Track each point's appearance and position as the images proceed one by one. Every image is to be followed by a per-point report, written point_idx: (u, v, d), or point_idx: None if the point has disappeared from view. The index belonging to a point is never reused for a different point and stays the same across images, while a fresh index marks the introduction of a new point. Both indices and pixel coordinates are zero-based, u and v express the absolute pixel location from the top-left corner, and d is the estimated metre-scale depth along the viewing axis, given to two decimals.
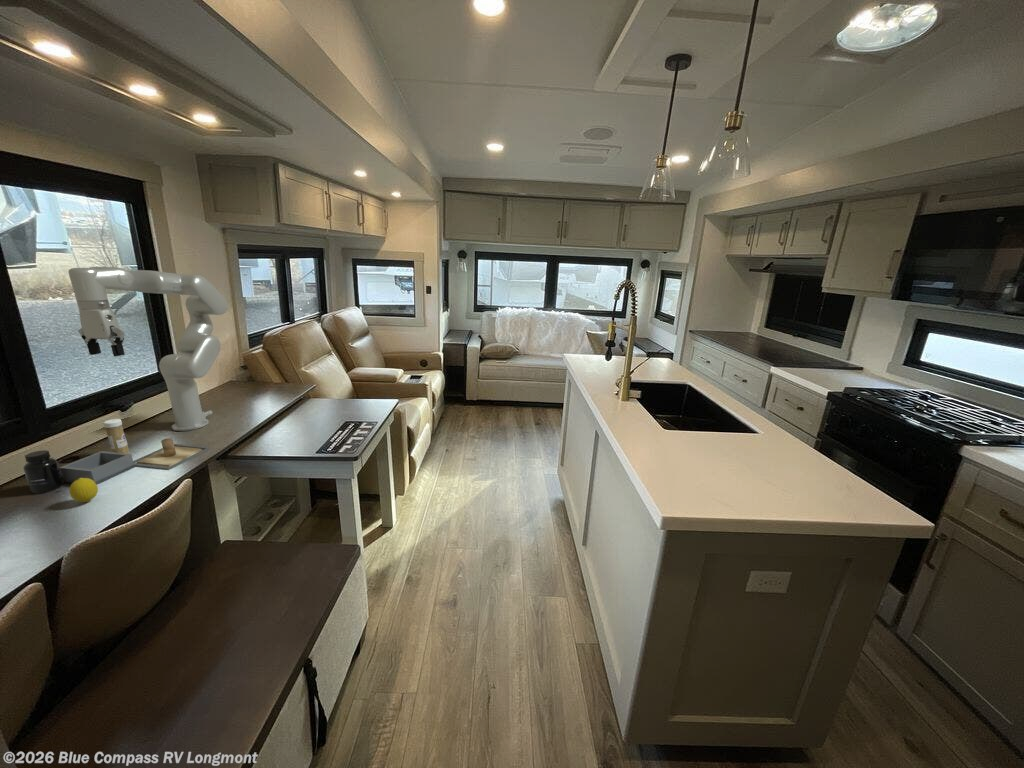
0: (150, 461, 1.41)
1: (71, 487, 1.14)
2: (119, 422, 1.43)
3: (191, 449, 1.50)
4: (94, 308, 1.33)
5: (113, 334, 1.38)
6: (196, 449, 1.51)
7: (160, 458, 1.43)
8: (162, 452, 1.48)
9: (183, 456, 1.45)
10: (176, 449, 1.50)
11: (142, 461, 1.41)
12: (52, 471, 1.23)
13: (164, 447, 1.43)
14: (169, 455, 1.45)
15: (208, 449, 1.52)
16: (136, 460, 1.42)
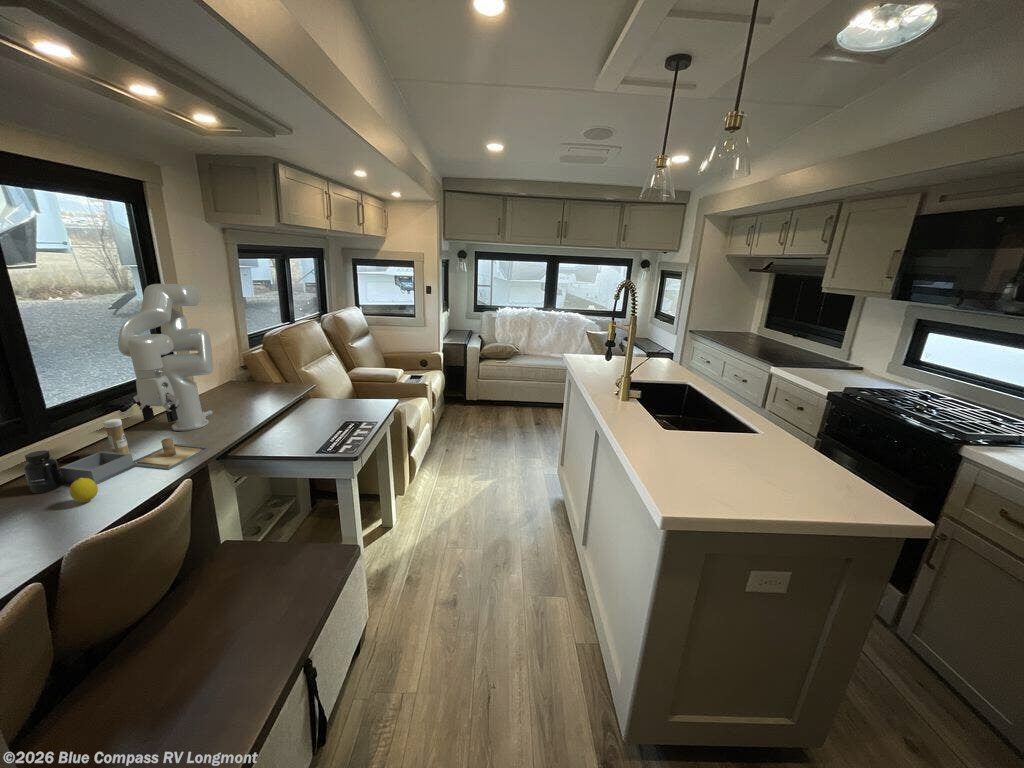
0: (150, 461, 1.41)
1: (71, 487, 1.14)
2: (119, 422, 1.43)
3: (191, 449, 1.50)
4: (151, 377, 1.34)
5: (168, 400, 1.40)
6: (196, 449, 1.51)
7: (160, 458, 1.43)
8: (162, 452, 1.48)
9: (183, 456, 1.45)
10: (176, 449, 1.50)
11: (142, 461, 1.41)
12: (52, 471, 1.23)
13: (164, 447, 1.43)
14: (169, 455, 1.45)
15: (208, 449, 1.52)
16: (136, 460, 1.42)
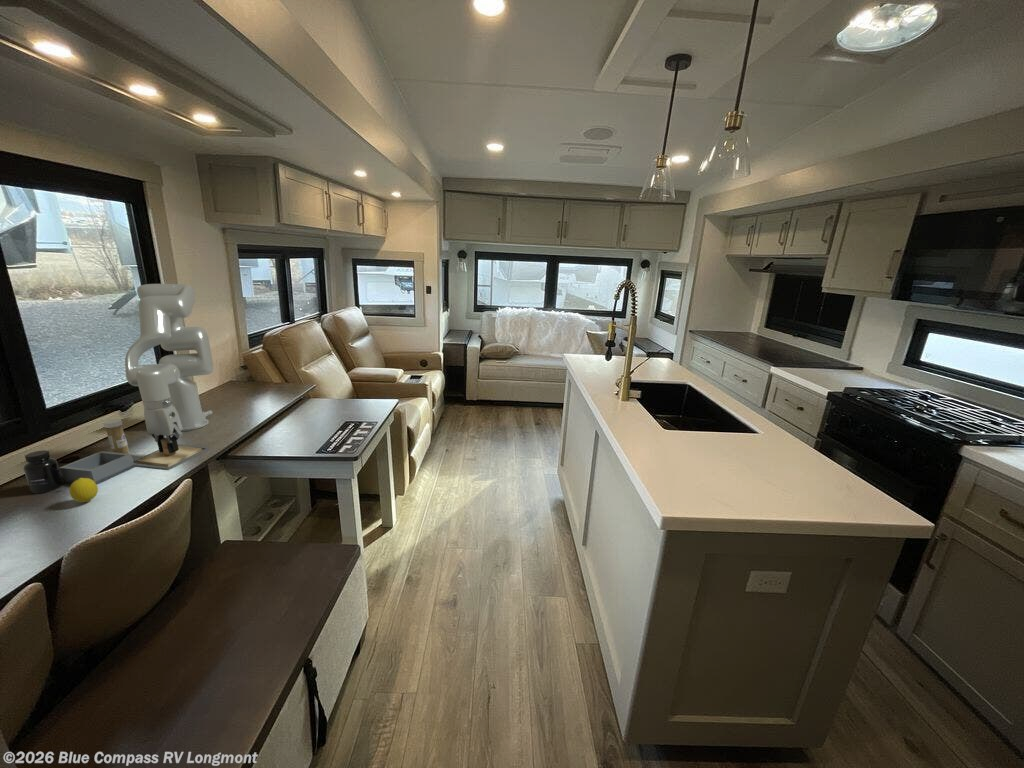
0: (149, 460, 1.41)
1: (71, 487, 1.14)
2: (119, 422, 1.43)
3: (191, 449, 1.50)
4: (159, 407, 1.38)
5: None
6: (196, 448, 1.50)
7: (160, 457, 1.43)
8: None
9: (182, 455, 1.45)
10: None
11: (142, 460, 1.41)
12: (52, 471, 1.23)
13: (164, 446, 1.43)
14: (169, 454, 1.44)
15: (208, 449, 1.52)
16: (136, 460, 1.42)
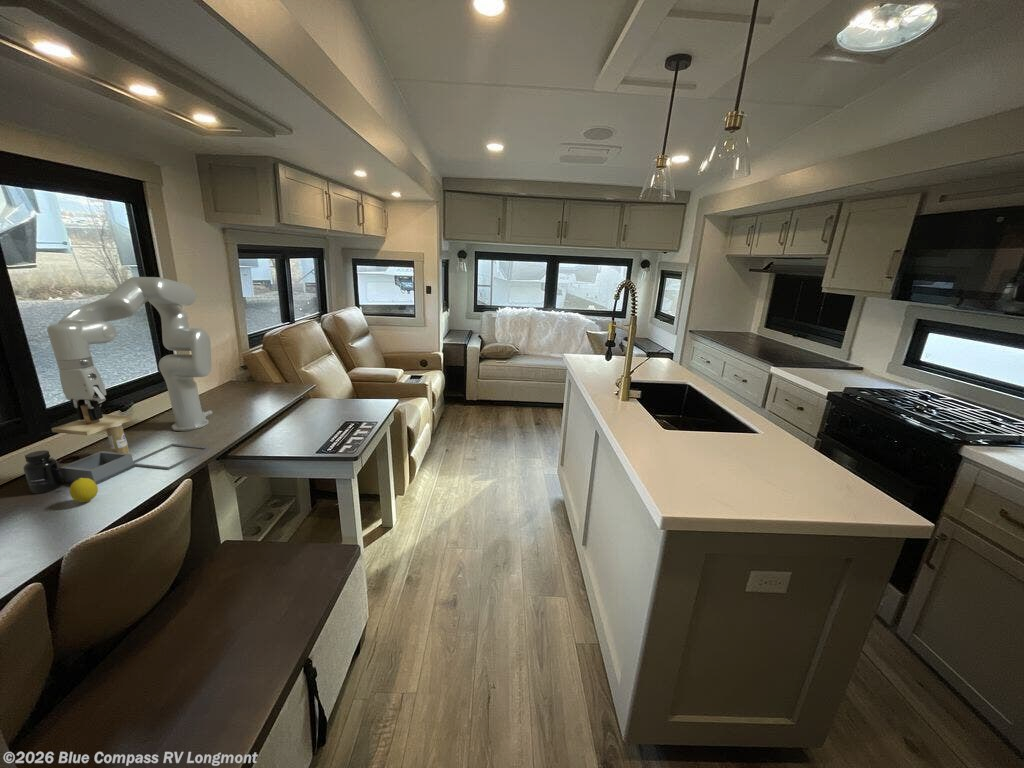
0: (66, 428, 1.24)
1: (71, 487, 1.14)
2: None
3: (119, 417, 1.33)
4: (76, 367, 1.21)
5: None
6: (124, 417, 1.34)
7: (79, 425, 1.26)
8: (84, 419, 1.31)
9: (106, 423, 1.28)
10: None
11: (57, 428, 1.24)
12: (52, 471, 1.22)
13: (84, 413, 1.26)
14: (90, 422, 1.28)
15: (208, 449, 1.52)
16: (136, 460, 1.42)
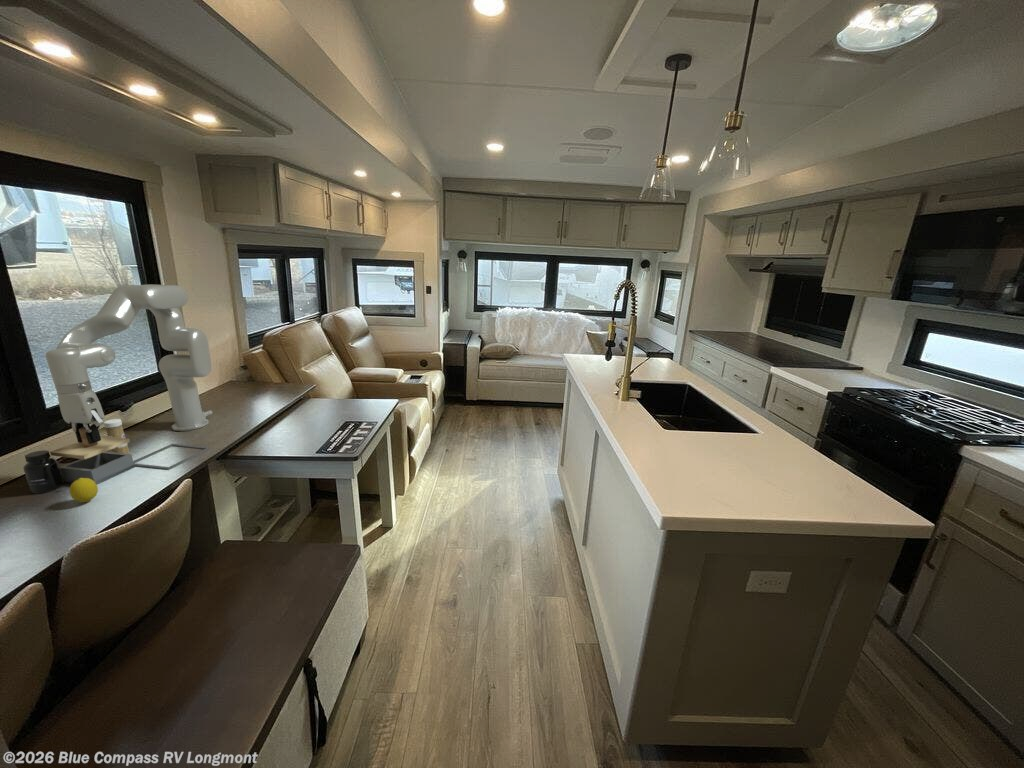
0: (65, 451, 1.25)
1: (71, 487, 1.14)
2: (119, 422, 1.43)
3: (117, 439, 1.34)
4: (74, 392, 1.22)
5: None
6: (122, 439, 1.35)
7: (77, 448, 1.27)
8: (83, 442, 1.32)
9: (104, 446, 1.29)
10: None
11: (56, 451, 1.25)
12: (52, 471, 1.22)
13: (82, 436, 1.27)
14: (88, 445, 1.29)
15: (208, 449, 1.52)
16: (136, 460, 1.42)
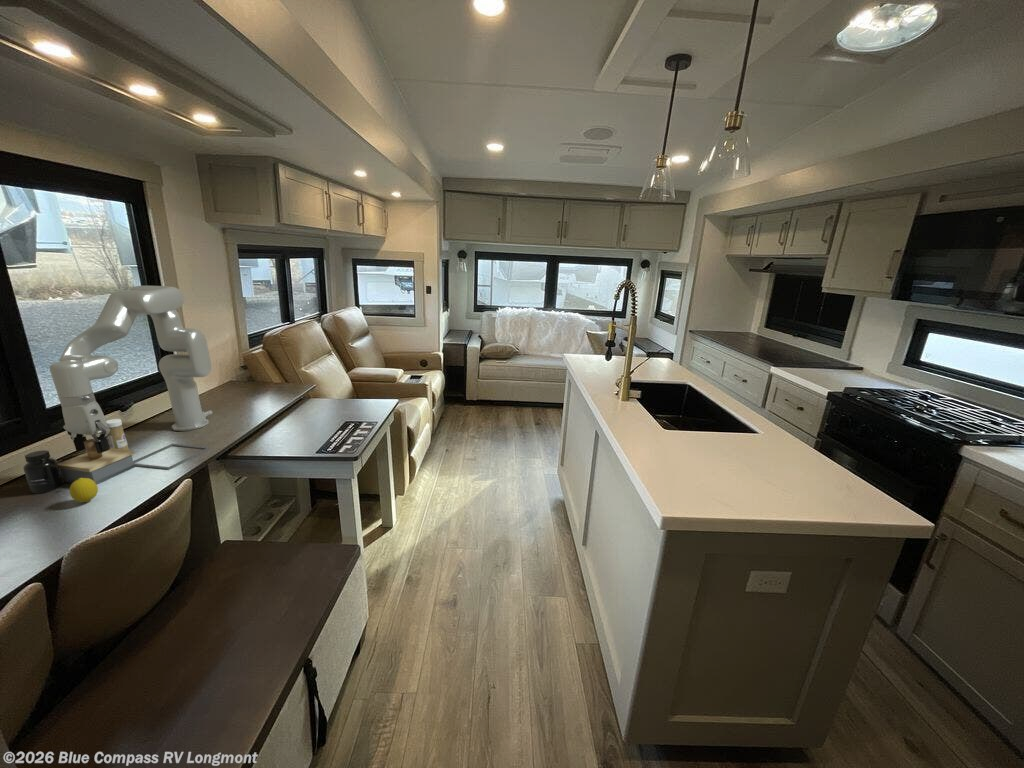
0: (70, 464, 1.27)
1: (71, 487, 1.14)
2: (119, 422, 1.43)
3: (121, 451, 1.36)
4: (78, 404, 1.23)
5: (99, 428, 1.29)
6: (126, 451, 1.36)
7: (82, 461, 1.29)
8: None
9: (109, 459, 1.31)
10: (105, 451, 1.36)
11: (61, 464, 1.27)
12: (52, 471, 1.23)
13: (87, 448, 1.29)
14: (93, 457, 1.30)
15: (208, 449, 1.52)
16: (136, 460, 1.42)
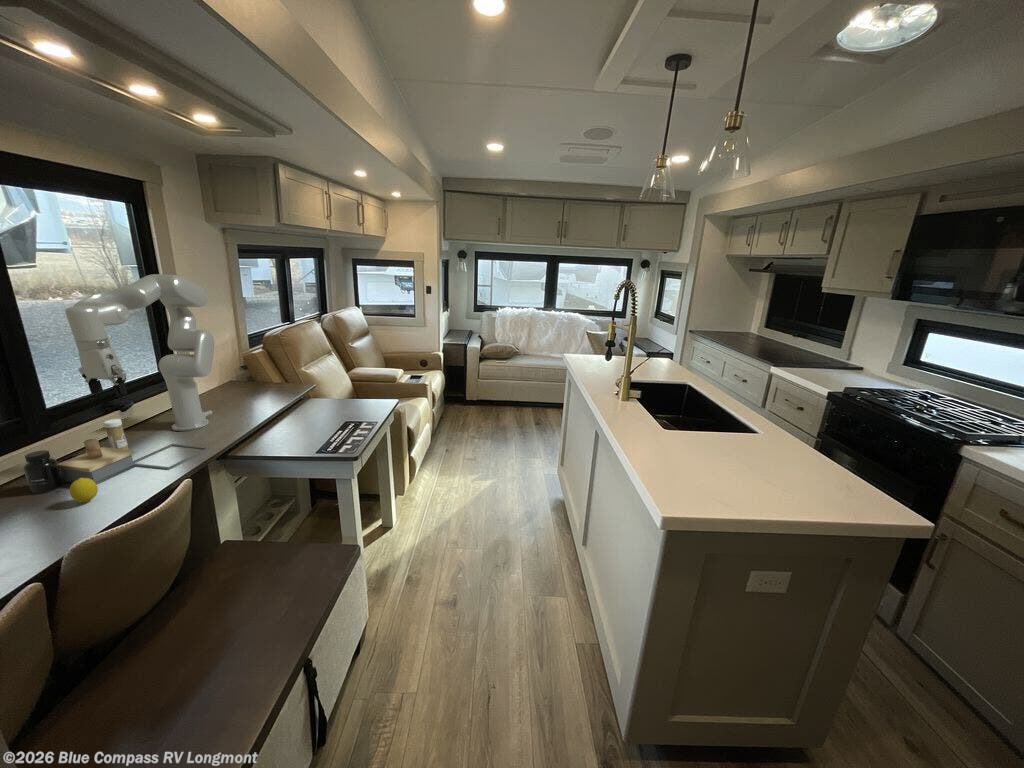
0: (70, 464, 1.27)
1: (71, 487, 1.14)
2: (119, 422, 1.43)
3: (121, 451, 1.36)
4: (94, 348, 1.27)
5: (115, 373, 1.33)
6: (126, 451, 1.36)
7: (82, 461, 1.29)
8: None
9: (109, 459, 1.31)
10: (105, 451, 1.36)
11: (61, 464, 1.27)
12: (52, 471, 1.23)
13: (87, 448, 1.29)
14: (93, 457, 1.30)
15: (208, 449, 1.52)
16: (136, 460, 1.42)
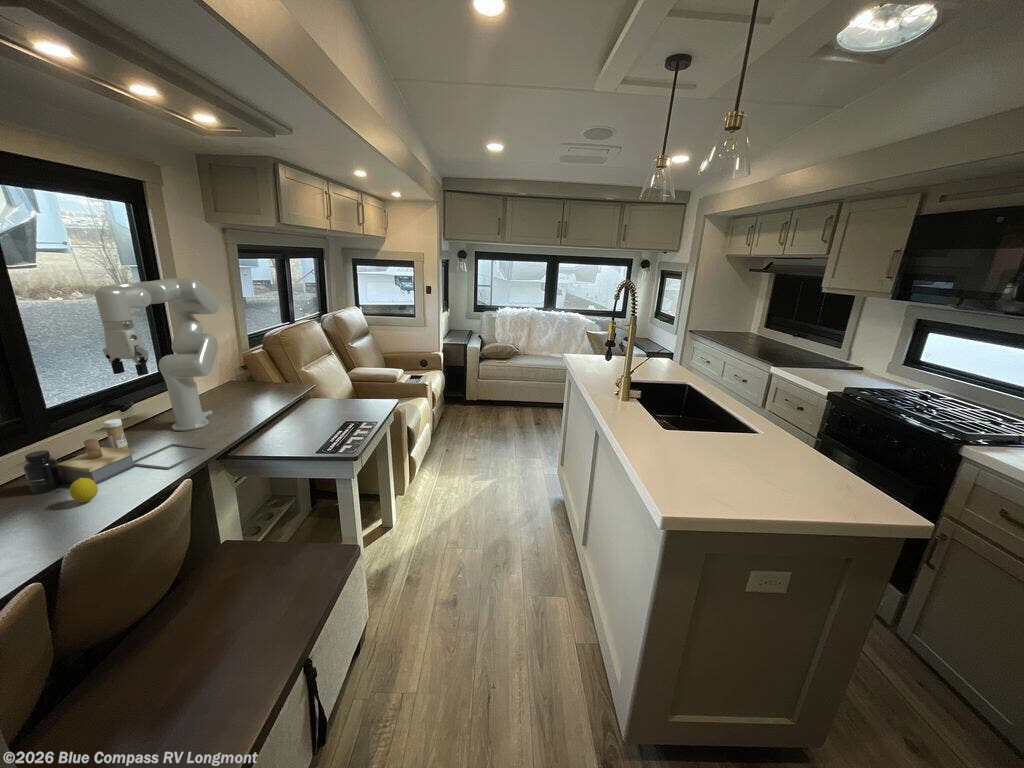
0: (70, 464, 1.27)
1: (71, 487, 1.14)
2: (119, 422, 1.43)
3: (121, 451, 1.36)
4: (119, 328, 1.33)
5: (137, 353, 1.39)
6: (126, 451, 1.36)
7: (82, 461, 1.29)
8: None
9: (109, 459, 1.31)
10: (105, 451, 1.36)
11: (61, 464, 1.27)
12: (52, 471, 1.23)
13: (87, 448, 1.29)
14: (93, 457, 1.30)
15: (208, 449, 1.52)
16: (136, 460, 1.42)
